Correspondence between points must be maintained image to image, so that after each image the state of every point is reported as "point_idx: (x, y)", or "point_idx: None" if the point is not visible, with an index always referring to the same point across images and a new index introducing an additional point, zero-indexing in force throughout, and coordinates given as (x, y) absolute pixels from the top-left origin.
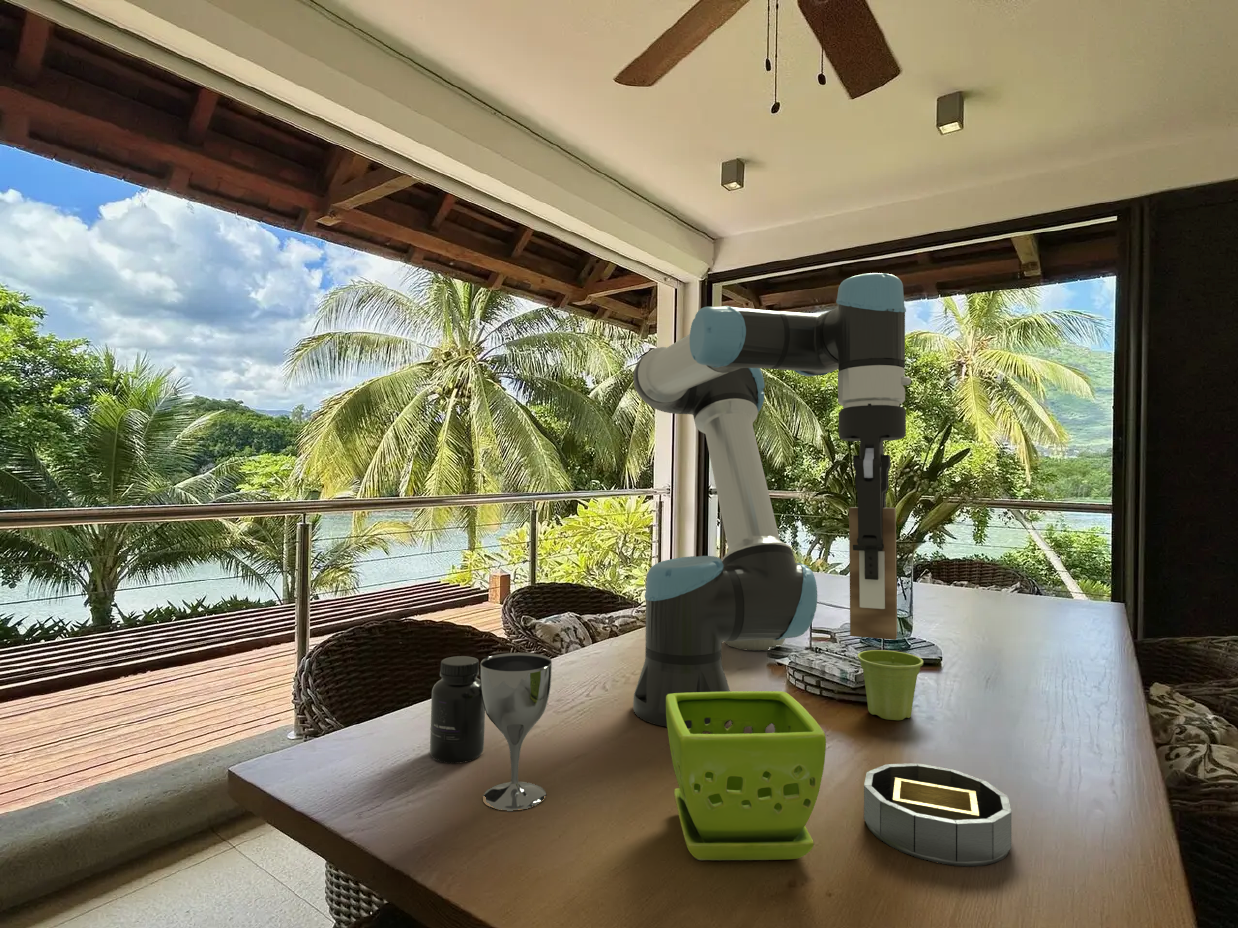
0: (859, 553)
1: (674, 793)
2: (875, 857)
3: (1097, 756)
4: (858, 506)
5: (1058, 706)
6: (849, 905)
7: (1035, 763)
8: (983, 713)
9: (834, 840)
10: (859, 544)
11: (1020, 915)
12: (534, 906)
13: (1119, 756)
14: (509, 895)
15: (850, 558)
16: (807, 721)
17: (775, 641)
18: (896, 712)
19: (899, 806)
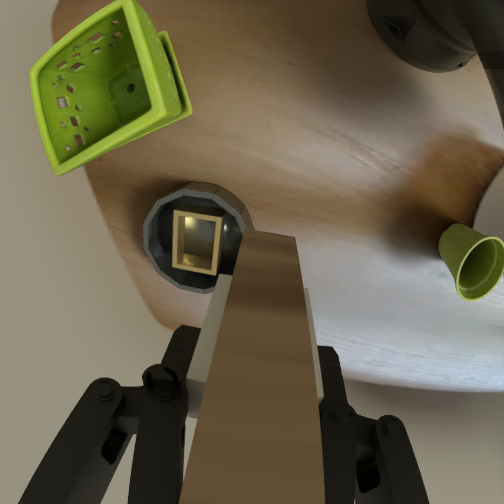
0: (189, 371)
1: (157, 33)
2: (147, 186)
3: (364, 361)
4: (33, 476)
5: (449, 358)
6: (94, 171)
7: (349, 327)
8: (447, 315)
9: (159, 158)
10: (99, 380)
11: (123, 257)
12: (58, 29)
13: (364, 370)
14: (64, 14)
15: (217, 339)
16: (75, 156)
17: None
18: (441, 248)
19: (153, 214)
